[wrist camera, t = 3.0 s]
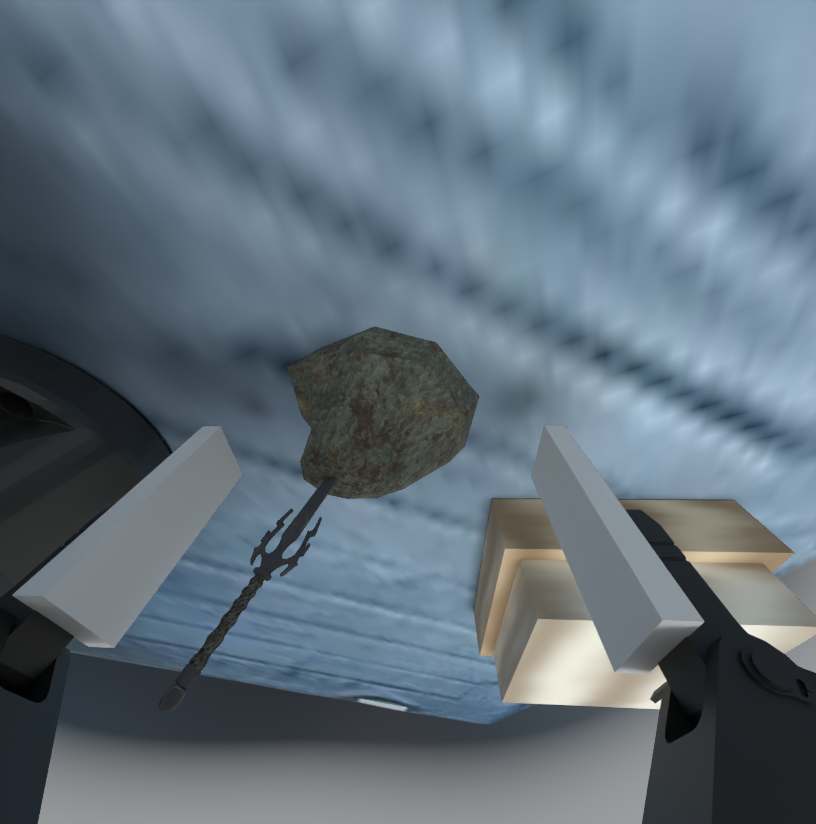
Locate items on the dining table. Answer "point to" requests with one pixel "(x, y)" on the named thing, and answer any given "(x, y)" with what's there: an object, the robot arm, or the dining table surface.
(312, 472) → the sword in stone
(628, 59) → the dining table surface
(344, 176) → the dining table surface
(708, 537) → the stacked beige slabs
